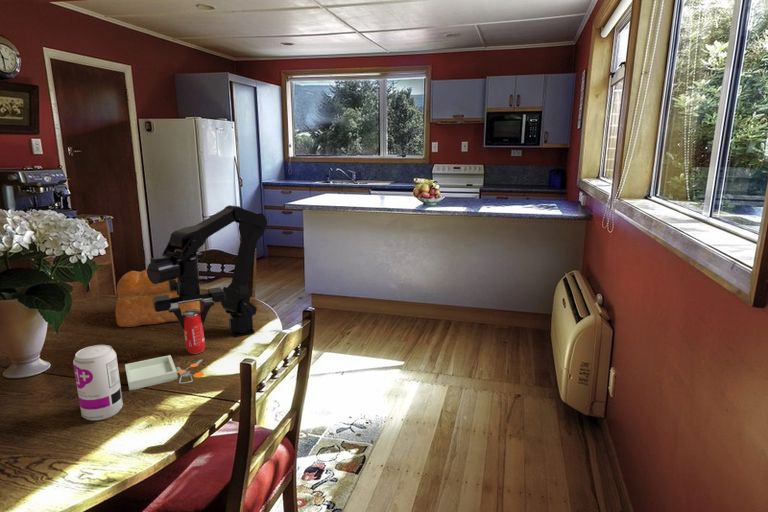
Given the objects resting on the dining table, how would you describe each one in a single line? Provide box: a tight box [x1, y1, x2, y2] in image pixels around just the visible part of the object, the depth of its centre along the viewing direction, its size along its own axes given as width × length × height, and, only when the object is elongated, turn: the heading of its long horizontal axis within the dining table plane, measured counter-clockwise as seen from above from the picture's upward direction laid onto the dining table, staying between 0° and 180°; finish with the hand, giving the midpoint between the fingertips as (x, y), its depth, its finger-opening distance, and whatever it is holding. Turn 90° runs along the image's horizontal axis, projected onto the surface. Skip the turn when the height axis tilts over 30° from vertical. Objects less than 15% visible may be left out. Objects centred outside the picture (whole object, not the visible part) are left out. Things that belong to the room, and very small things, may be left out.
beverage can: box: [182, 309, 206, 355], centre depth 137 cm, size 5×5×12 cm
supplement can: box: [72, 344, 124, 422], centre depth 106 cm, size 8×8×15 cm
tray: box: [124, 354, 179, 391], centre depth 125 cm, size 11×11×2 cm
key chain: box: [176, 359, 205, 385], centre depth 127 cm, size 13×7×1 cm, turn 22°
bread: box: [115, 269, 201, 328], centre depth 163 cm, size 16×26×17 cm, turn 112°
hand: (192, 327), depth 137 cm, fingers closed on beverage can, 5 cm apart
